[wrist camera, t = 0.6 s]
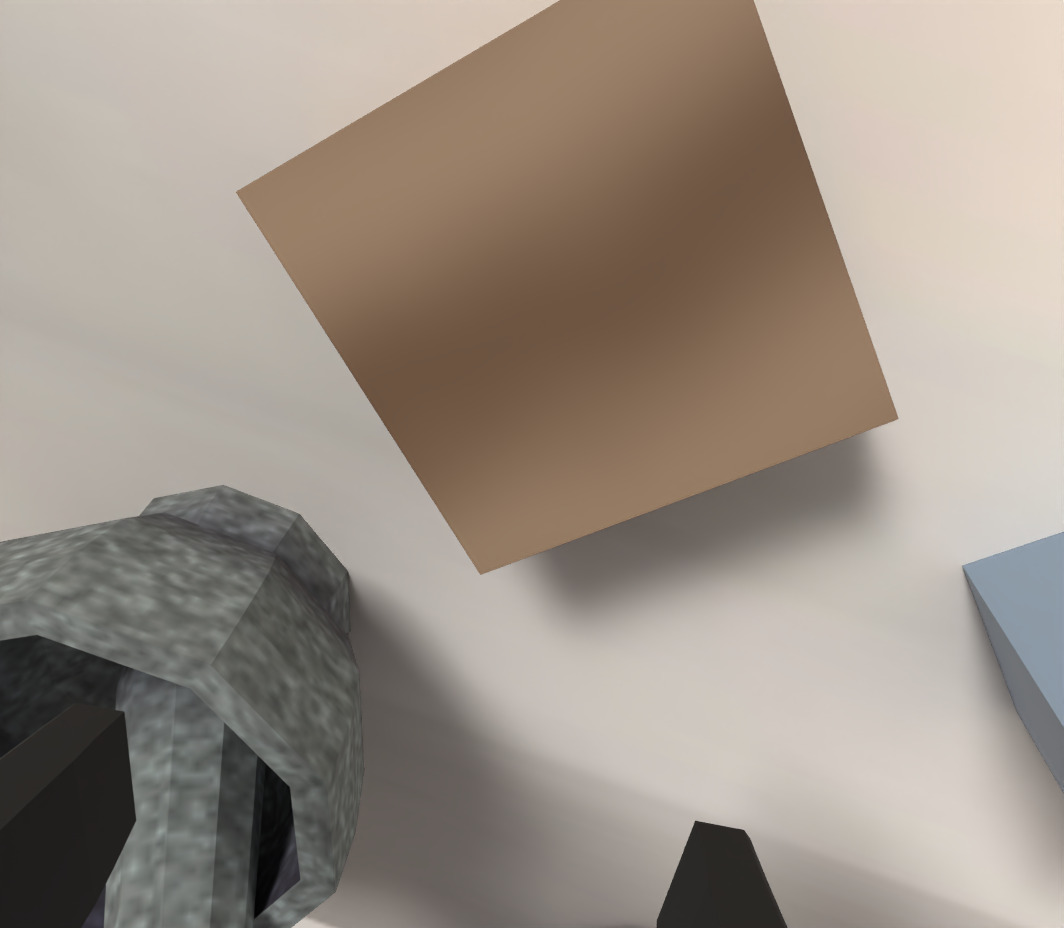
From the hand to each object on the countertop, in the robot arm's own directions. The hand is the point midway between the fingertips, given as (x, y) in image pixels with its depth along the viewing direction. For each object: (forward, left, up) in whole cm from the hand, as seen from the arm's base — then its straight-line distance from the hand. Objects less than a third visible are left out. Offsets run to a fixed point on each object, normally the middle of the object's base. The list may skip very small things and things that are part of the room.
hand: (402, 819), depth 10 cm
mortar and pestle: (-1, +8, -10) cm, 13 cm away
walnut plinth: (+3, -4, -10) cm, 11 cm away
